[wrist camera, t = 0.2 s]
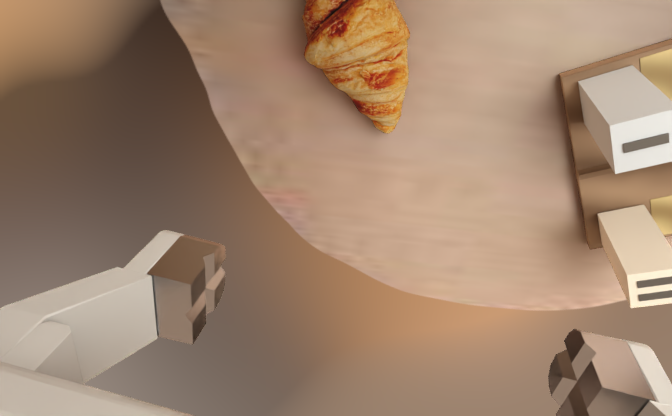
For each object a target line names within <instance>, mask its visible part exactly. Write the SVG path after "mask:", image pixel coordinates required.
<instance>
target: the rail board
mask: <svg viewBox="0 0 672 416" xmlns="http://www.w3.org/2000/svg"><path fill="white" fill-rule="evenodd" d="M631 65H633V66H634V67H635V68H636V69H637V70H638V71H639V72H641V73H642V74H643V75H644V76H645V77H646V78H647V79H648V80H649V81H650V82H652V83H653V84H654V85H655V86H656V87H657V88H658V89H659V90H660V91H661V92H663V93H664V94H665V95H666V96H667V97H668V98H669V99H670V100H671V101H672V39H670V40H666V41H663V42H660V43H657V44H653V45H650V46H647V47H644V48H641V49H637V50H634V51H631V52H628V53H624V54H621V55H618V56H615V57H611V58H608V59H605V60H602V61H599V62H595V63H592V64H589V65H586V66H582V67H579V68H576V69H573V70H569V71H566V72H563V73H560V74H559V75H560V81H561V87H562V93H563V99H564V105H565V111H566V117H567V123H568V129H569V135H570V141H571V147H572V153H573V159H574V165H575V171H576V177H577V183H578V189H579V195H580V201H581V207H582V213H583V219H584V225H585V231H586V237H587V243H588V246H589V248H590V249H596V248H602V247H603V245H602V242H601V235H600V229H599V222H598V215H597V214H598V213H603V212H608V211H613V210H618V209H623V208H628V207H634V206H639V205H645V207H646V208H647V210H648V212H649V213H650V215H651V216H652V218H653V219H654V221H655V222H656V224H657V226H658V227H659V229H660V230H661V232H662V233H663V235H664V236H665V237H667V236H672V162H667V163H663V164H658V165H654V166H649V167H645V168H640V169H636V170H631V171H627V172H622V173H618V174H615V173H614V171H613V170H612V168H611V166H610V165H609V163H608V161H607V160H606V158H605V156H604V155H603V153H602V152H601V150H600V148H599V147H598V145H597V143H596V142H595V140H594V139H593V137H592V135H591V134H590V132H589V130H588V129H587V127H586V125H585V124H584V119H583V113H582V106H581V99H580V92H579V85H578V81H581V80H584V79H588V78H591V77H594V76H598V75H601V74H604V73H608V72H611V71H614V70H618V69H621V68H624V67H628V66H631Z"/></svg>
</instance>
